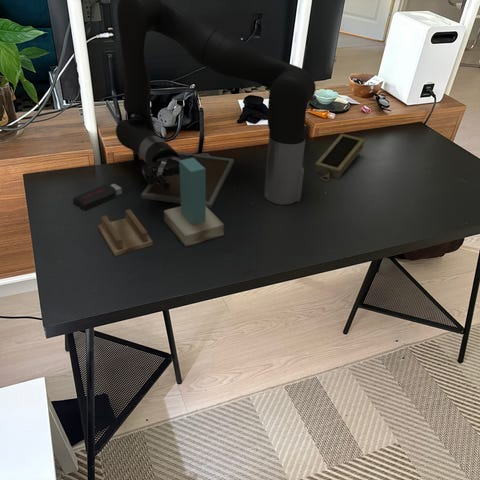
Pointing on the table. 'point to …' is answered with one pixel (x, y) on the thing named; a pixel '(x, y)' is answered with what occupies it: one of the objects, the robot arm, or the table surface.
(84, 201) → the usb drive
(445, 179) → the table surface
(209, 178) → the grey framed brown panel
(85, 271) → the table surface
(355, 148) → the box
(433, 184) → the table surface
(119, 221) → the rack
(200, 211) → the tall teal prism
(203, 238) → the block
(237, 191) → the table surface
